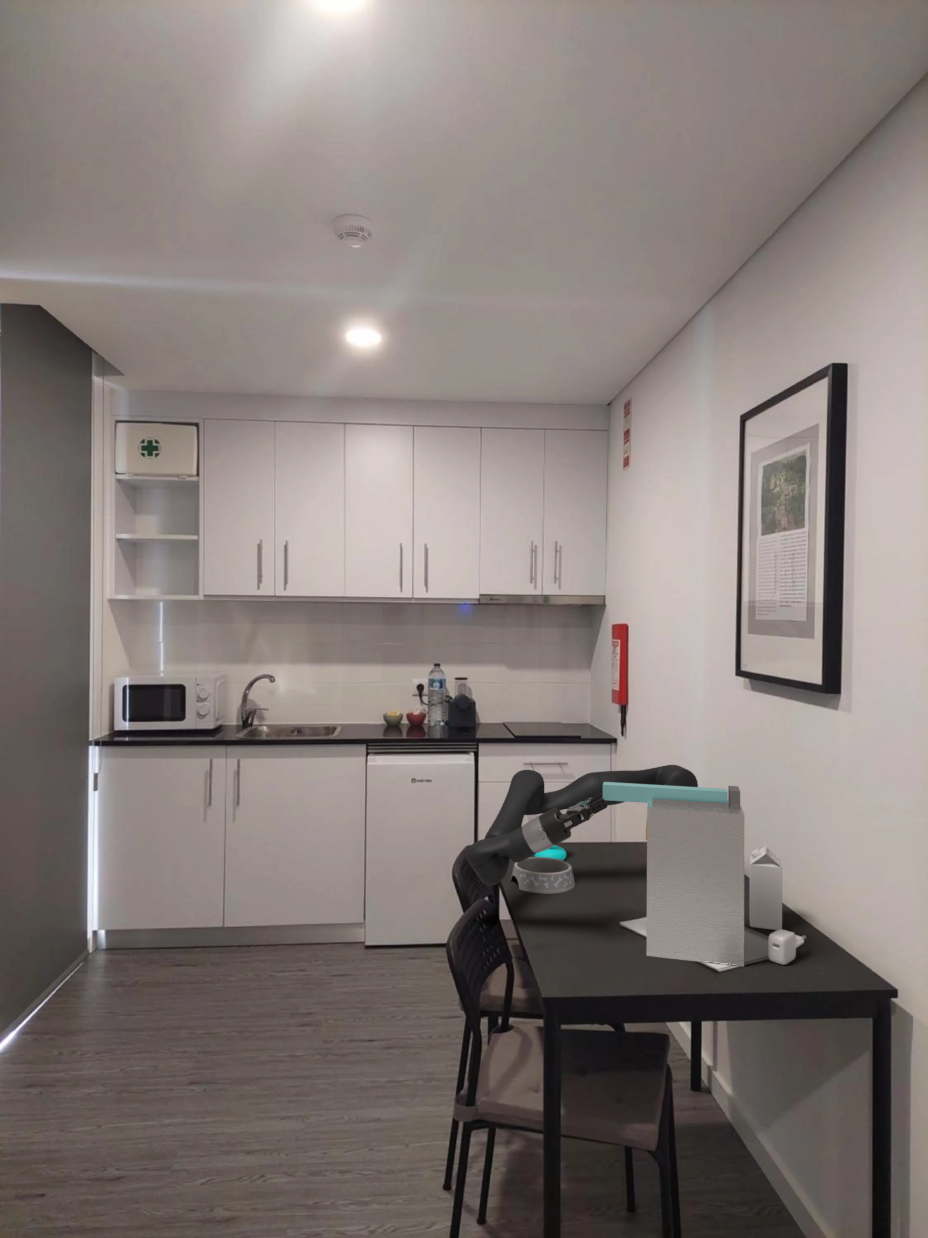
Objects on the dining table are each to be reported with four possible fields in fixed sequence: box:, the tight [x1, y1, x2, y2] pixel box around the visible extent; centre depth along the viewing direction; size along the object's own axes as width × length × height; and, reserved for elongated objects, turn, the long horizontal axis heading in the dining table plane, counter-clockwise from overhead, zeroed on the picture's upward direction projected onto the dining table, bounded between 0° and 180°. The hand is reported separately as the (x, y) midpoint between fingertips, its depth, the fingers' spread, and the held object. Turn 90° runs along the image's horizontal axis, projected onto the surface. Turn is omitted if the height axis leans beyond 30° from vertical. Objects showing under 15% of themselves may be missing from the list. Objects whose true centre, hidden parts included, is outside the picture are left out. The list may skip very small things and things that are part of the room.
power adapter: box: [767, 928, 807, 966], centre depth 169 cm, size 11×5×6 cm, turn 132°
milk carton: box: [749, 841, 783, 931], centre depth 188 cm, size 7×7×19 cm
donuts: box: [533, 845, 567, 861], centre depth 241 cm, size 10×10×10 cm
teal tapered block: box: [603, 782, 728, 804], centre depth 175 cm, size 27×4×4 cm, turn 75°
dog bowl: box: [509, 856, 576, 894], centre depth 218 cm, size 17×18×5 cm
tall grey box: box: [645, 785, 745, 967], centre depth 173 cm, size 20×14×36 cm
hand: (607, 798), depth 178 cm, fingers open, 8 cm apart
